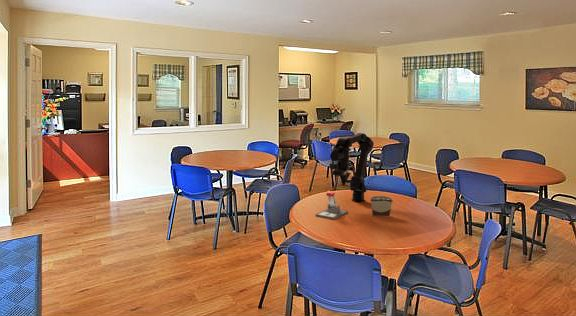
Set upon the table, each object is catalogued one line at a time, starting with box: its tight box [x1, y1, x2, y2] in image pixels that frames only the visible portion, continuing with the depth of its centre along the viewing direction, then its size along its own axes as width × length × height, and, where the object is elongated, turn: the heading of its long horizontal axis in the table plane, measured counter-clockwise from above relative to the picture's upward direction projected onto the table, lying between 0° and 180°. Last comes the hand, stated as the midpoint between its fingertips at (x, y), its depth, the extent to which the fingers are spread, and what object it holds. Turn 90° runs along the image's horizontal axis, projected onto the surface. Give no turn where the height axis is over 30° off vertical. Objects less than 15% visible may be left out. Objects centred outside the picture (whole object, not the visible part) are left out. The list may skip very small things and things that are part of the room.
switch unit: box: [315, 203, 349, 221], centre depth 236 cm, size 16×12×5 cm
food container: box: [369, 195, 394, 217], centre depth 235 cm, size 12×6×10 cm, turn 84°
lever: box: [326, 190, 337, 209], centre depth 235 cm, size 2×4×11 cm, turn 54°
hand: (343, 185), depth 251 cm, fingers closed
